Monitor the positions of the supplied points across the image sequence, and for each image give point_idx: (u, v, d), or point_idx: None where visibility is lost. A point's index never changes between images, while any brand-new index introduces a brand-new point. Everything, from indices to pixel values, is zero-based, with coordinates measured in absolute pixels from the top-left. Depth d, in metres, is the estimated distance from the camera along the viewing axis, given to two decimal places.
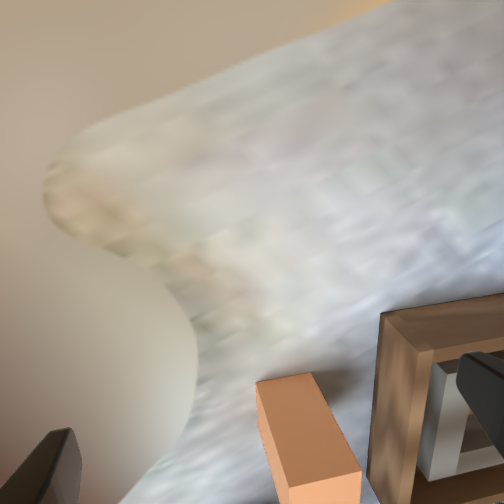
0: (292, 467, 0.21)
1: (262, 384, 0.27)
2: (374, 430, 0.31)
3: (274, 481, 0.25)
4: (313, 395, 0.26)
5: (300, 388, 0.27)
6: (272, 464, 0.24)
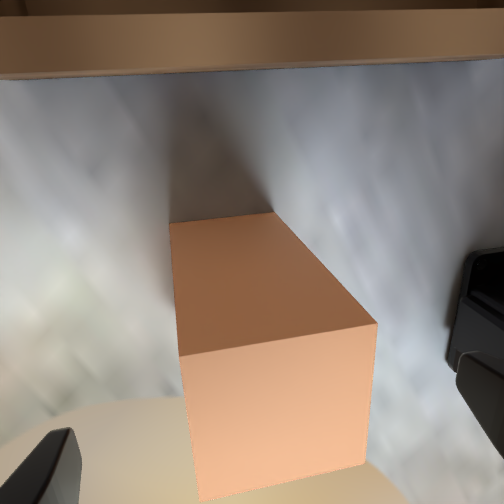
0: None
1: None
2: (339, 65, 0.13)
3: None
4: None
5: None
6: None
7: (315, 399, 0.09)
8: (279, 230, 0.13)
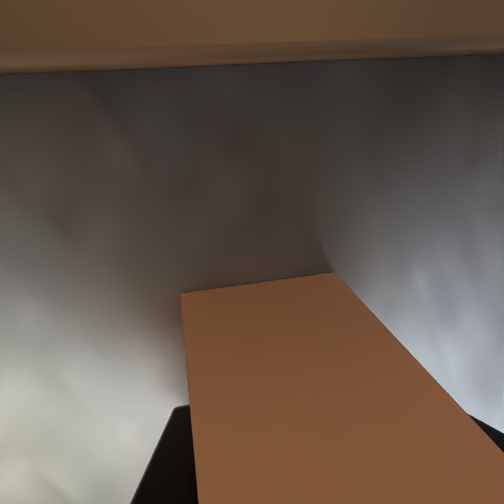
0: None
1: None
2: (452, 54, 0.08)
3: None
4: None
5: None
6: None
7: None
8: (355, 314, 0.09)
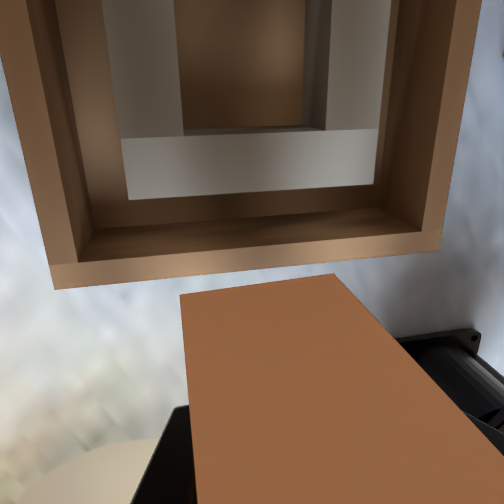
0: None
1: None
2: None
3: None
4: None
5: None
6: None
7: None
8: (354, 316, 0.09)
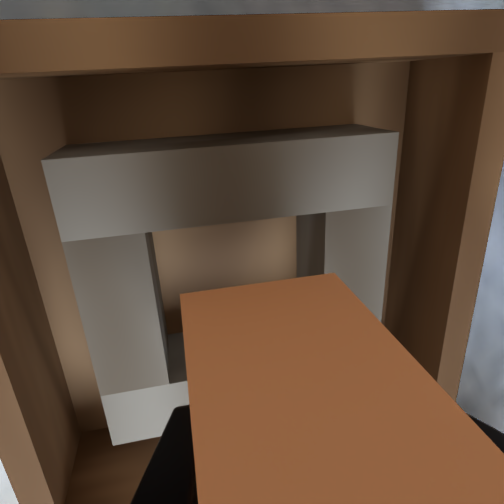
0: None
1: None
2: None
3: None
4: None
5: None
6: None
7: None
8: (355, 315, 0.08)
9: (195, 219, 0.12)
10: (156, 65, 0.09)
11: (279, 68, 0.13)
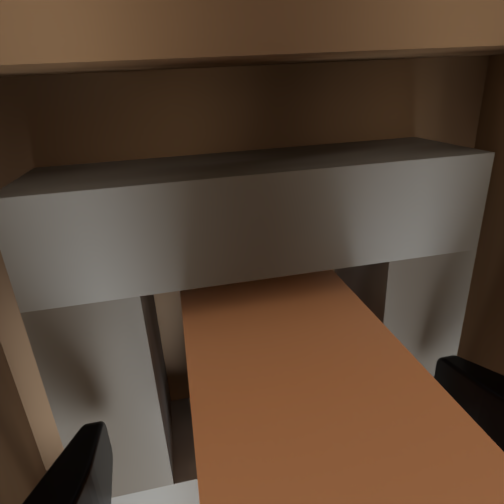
0: None
1: None
2: None
3: None
4: None
5: None
6: None
7: None
8: (326, 280, 0.10)
9: (211, 276, 0.08)
10: (156, 56, 0.06)
11: (321, 64, 0.10)
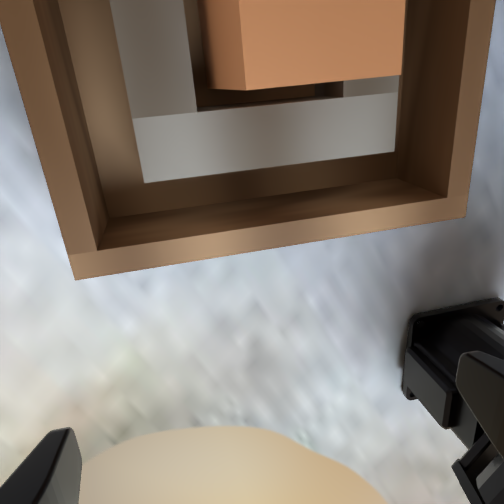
0: (235, 68, 0.10)
1: (206, 77, 0.16)
2: None
3: None
4: None
5: (201, 4, 0.14)
6: None
7: None
8: None
9: None
10: None
11: None
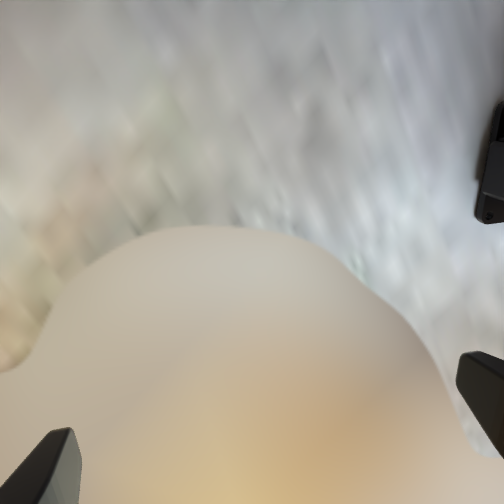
0: None
1: None
2: None
3: None
4: None
5: None
6: None
7: None
8: None
9: None
10: None
11: None
